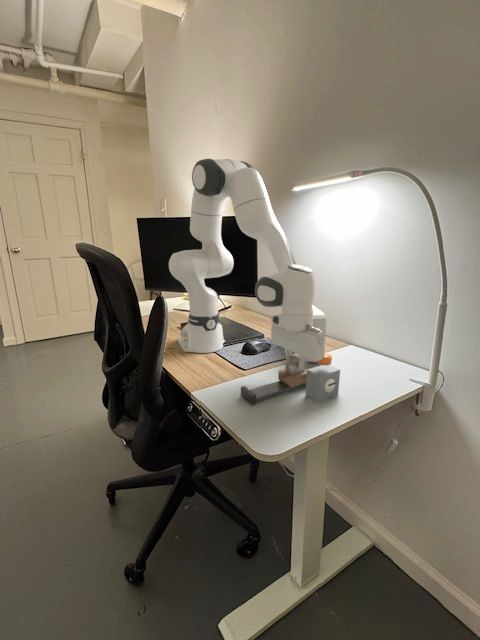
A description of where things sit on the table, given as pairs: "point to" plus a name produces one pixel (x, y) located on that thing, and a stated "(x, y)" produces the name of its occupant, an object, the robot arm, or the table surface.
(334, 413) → the table surface
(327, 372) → the cabinet
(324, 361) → the button
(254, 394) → the rail
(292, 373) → the carriage
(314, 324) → the rounded white slab
